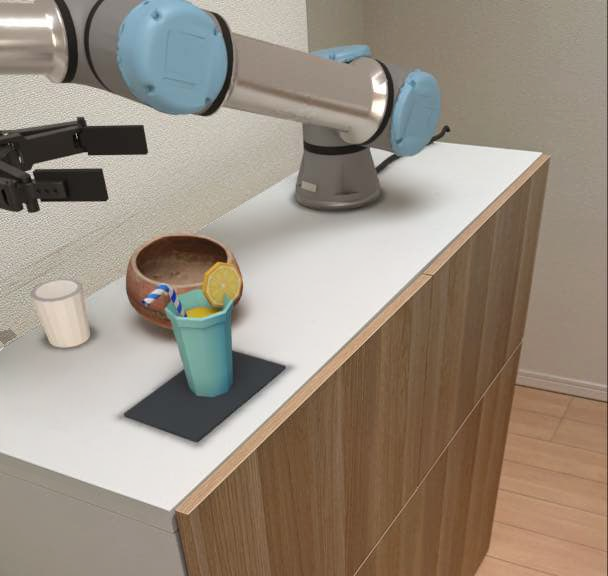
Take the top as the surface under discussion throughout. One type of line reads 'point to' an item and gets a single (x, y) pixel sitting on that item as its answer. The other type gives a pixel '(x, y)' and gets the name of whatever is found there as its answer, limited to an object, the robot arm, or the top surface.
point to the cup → (204, 328)
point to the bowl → (172, 270)
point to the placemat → (203, 399)
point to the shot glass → (62, 311)
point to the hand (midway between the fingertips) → (126, 161)
